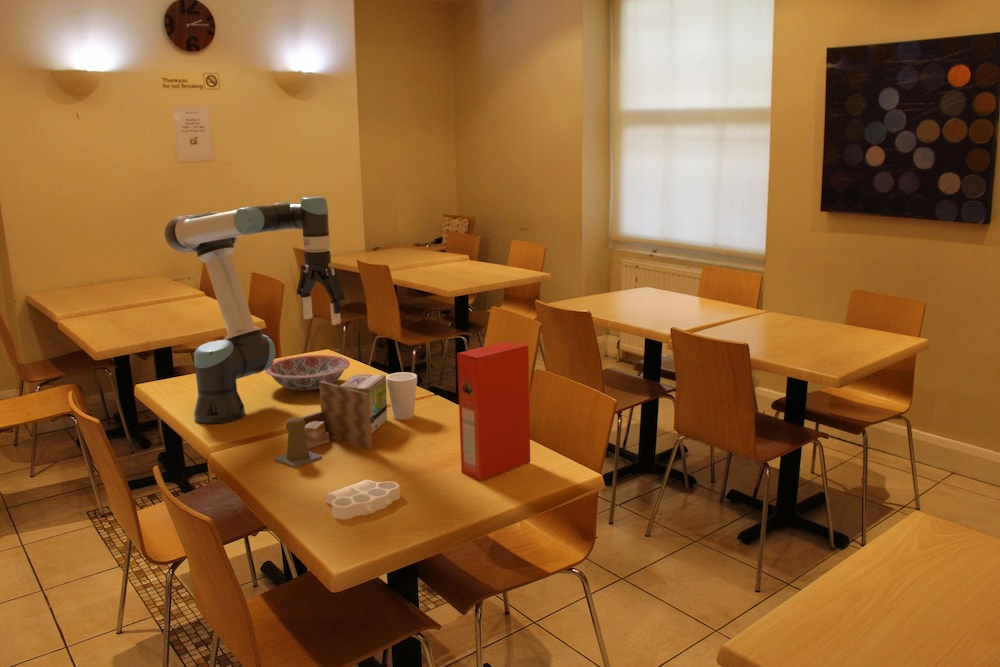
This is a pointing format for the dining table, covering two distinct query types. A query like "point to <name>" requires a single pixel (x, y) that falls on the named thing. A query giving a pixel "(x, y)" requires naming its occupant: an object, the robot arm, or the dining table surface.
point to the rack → (344, 414)
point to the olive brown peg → (296, 439)
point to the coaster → (295, 464)
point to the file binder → (494, 409)
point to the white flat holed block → (362, 498)
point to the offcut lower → (318, 440)
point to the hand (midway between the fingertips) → (322, 321)
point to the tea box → (372, 395)
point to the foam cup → (402, 394)
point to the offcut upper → (314, 429)
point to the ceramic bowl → (307, 371)
